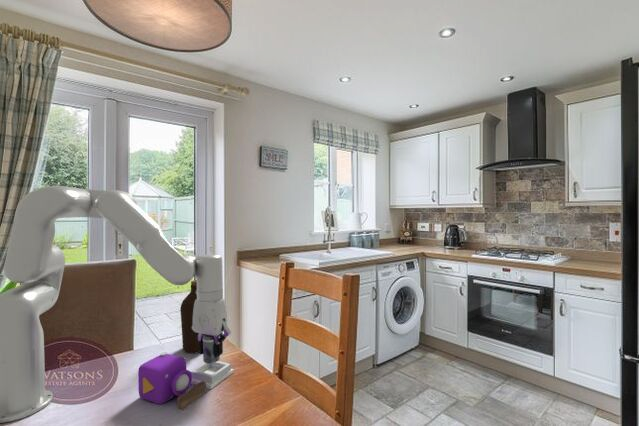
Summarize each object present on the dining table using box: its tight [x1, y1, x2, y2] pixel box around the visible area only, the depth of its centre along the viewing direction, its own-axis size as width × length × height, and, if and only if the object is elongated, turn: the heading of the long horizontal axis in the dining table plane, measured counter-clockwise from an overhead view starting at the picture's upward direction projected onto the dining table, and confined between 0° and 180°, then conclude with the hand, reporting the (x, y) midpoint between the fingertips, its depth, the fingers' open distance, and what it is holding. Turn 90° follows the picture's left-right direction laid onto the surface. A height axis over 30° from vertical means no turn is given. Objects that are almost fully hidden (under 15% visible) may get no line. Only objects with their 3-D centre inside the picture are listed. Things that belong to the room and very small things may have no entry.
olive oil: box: [179, 279, 200, 354], centre depth 118 cm, size 11×11×25 cm
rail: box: [177, 381, 207, 411], centre depth 86 cm, size 2×8×3 cm, turn 157°
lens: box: [202, 334, 221, 363], centre depth 98 cm, size 5×5×8 cm
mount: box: [189, 360, 234, 390], centre depth 98 cm, size 9×10×3 cm
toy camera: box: [137, 352, 192, 405], centre depth 89 cm, size 11×14×10 cm
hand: (211, 353), depth 98 cm, fingers closed on lens, 4 cm apart
